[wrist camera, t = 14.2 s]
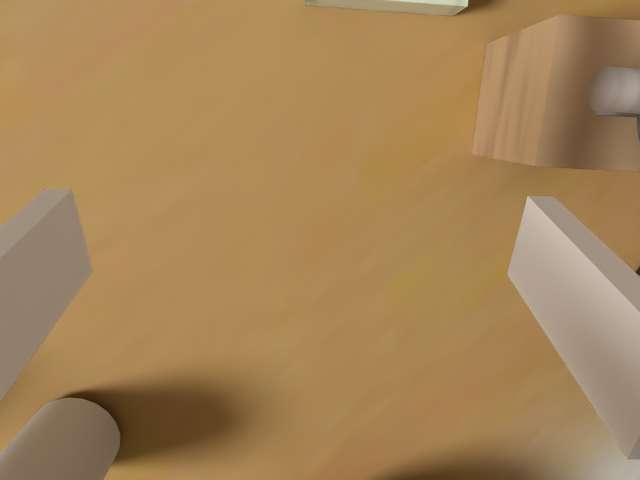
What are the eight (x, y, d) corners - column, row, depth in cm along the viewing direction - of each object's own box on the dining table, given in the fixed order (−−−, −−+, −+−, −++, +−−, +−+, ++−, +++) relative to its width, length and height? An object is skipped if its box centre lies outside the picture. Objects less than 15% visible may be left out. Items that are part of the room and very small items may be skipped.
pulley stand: (591, 51, 35) (878, -17, 18) (571, 159, 37) (814, 193, 20) (486, 43, 35) (677, -34, 17) (471, 154, 37) (631, 184, 19)
